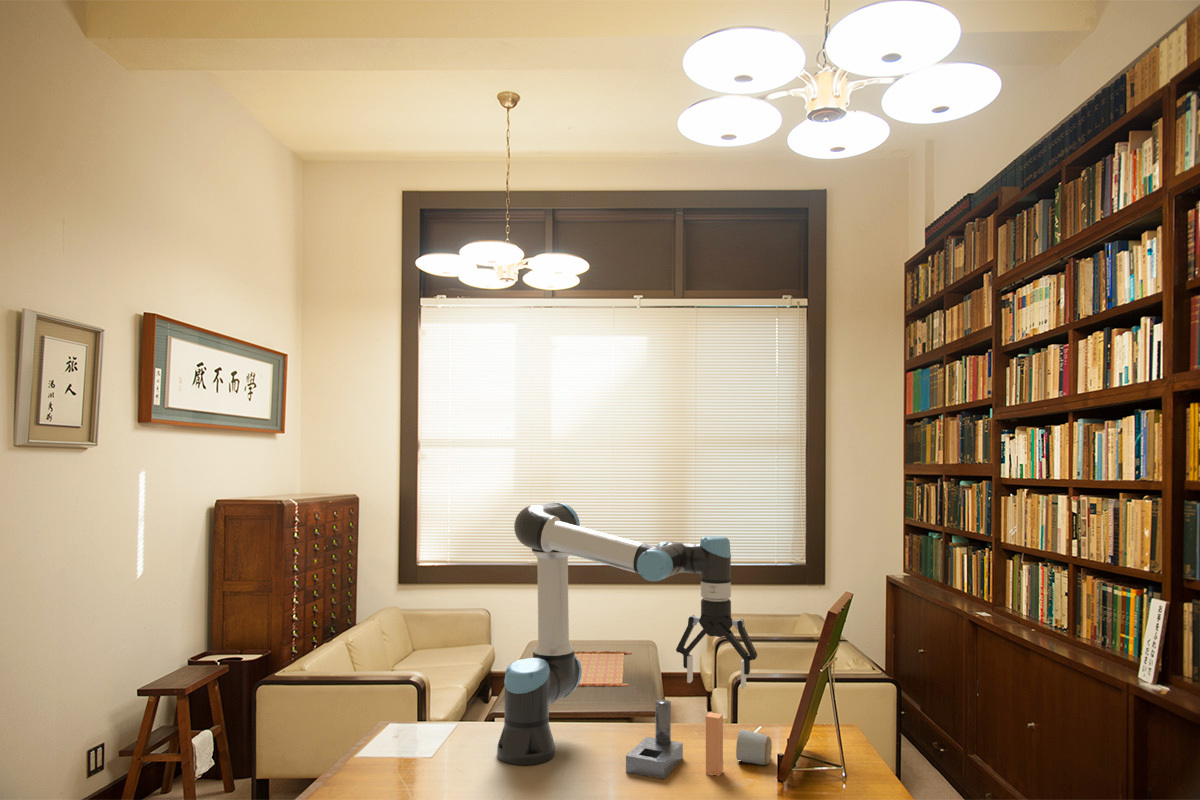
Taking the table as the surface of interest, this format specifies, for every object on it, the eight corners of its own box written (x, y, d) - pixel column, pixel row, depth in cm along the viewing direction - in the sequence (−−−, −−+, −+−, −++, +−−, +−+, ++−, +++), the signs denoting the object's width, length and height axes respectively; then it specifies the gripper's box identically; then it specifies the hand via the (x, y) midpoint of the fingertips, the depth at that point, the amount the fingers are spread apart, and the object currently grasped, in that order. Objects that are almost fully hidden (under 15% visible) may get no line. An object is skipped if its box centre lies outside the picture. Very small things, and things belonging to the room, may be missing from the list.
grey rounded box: (767, 770, 198) (767, 738, 199) (735, 765, 201) (735, 734, 202) (774, 755, 208) (774, 725, 209) (743, 751, 211) (743, 721, 212)
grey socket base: (625, 772, 196) (626, 714, 197) (647, 751, 210) (648, 697, 211) (663, 779, 192) (663, 720, 193) (683, 757, 206) (683, 702, 207)
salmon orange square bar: (705, 774, 196) (705, 716, 196) (709, 769, 199) (709, 712, 200) (719, 776, 194) (719, 718, 195) (722, 771, 197) (722, 714, 198)
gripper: (664, 597, 201) (664, 683, 199) (763, 604, 192) (764, 694, 190) (672, 592, 208) (672, 675, 206) (768, 599, 199) (769, 685, 197)
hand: (716, 684), depth 198 cm, fingers open, 13 cm apart
